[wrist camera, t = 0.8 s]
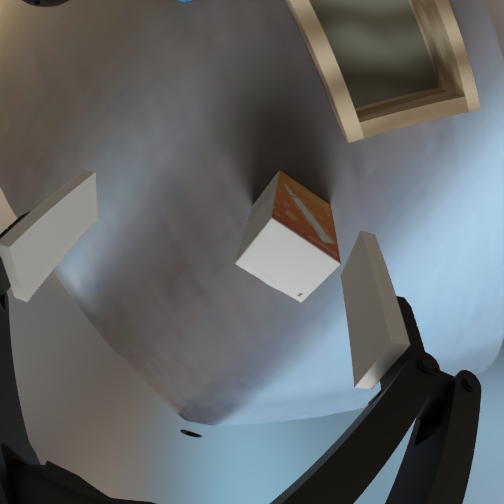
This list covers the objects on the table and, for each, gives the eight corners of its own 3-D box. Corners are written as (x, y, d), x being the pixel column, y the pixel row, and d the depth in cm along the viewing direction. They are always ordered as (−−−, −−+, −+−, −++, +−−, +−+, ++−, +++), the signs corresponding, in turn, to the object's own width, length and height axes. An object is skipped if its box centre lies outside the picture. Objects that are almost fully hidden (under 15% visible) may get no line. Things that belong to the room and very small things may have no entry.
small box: (331, 204, 39) (343, 264, 29) (301, 238, 43) (301, 305, 32) (279, 167, 38) (270, 216, 27) (250, 205, 41) (232, 265, 30)
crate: (259, -45, 23) (251, -66, 17) (381, -72, 18) (397, -93, 13) (339, 128, 34) (348, 142, 28) (452, 98, 29) (480, 108, 23)
